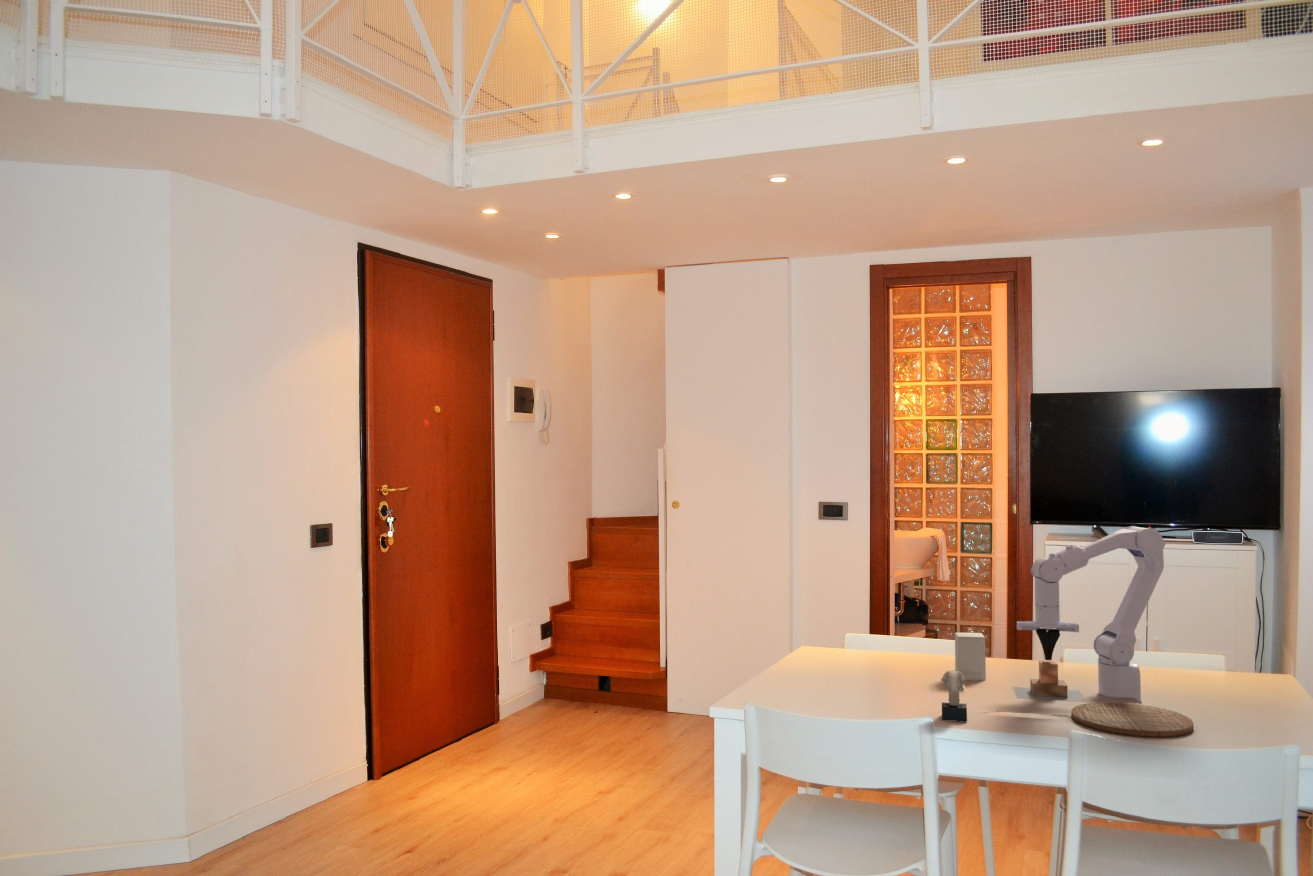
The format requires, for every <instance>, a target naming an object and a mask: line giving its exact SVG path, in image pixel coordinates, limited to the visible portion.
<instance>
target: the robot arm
mask: <svg viewBox="0 0 1313 876" xmlns="http://www.w3.org/2000/svg"><path fill="white" fill-rule="evenodd" d="M1165 547H1166V542H1165V541H1164V538H1163V537H1162V535H1161V533H1160V532H1159V531H1158V530H1157V529H1155V528H1152V527H1139V526H1136V525H1131V526H1126V528H1121V529H1118V530H1117V531H1114V532H1112V533H1110V534H1108V535H1106V536H1103V537H1101V538H1100V539H1097V540H1095V541H1093V542H1091V543H1089V544H1087V545H1085V546H1083V547H1081V546H1079V545H1076V544H1075V545H1071V544H1069V545H1068V544H1067V545H1066V546H1065V549H1062V550H1061V551H1058V552H1056V553H1053V552H1050V553H1049V554H1048V558H1047V557H1040V558H1037V559H1036V560H1035V561H1034V562H1033V563H1032V566H1031V567H1030V573H1031V575H1032V576H1033V577H1034V607H1035V608H1034V609H1035V616H1034V617H1035V621H1034V620H1030V621H1016V631H1017V630H1018V631H1022V630H1023V631H1035V633H1036V634H1037V636H1038V639H1039V641H1040V644H1041V648H1042V650H1043V654H1044V661H1053V659H1052V658H1053V653H1054V650H1055V647H1056V645H1057V642H1058V640H1059V638H1060V636H1061V633H1060V632H1070V633H1072V632H1073V633H1080V625H1079V623H1077V622H1076V623H1073V622H1072V623H1071V622H1062V621H1060V618H1061V617H1060V616H1061V615H1060V614H1061V613H1060V580H1061V579H1062V578H1063V576H1066V575H1067V574H1070V573H1072V572H1075V571H1077V570H1080V569H1082V568H1084V567H1087V565H1088V564H1089V561H1090V560H1091V559H1093V558H1096V557H1099V556H1101V555H1104V554H1106V553H1109V552H1113V551H1115V550H1118V549H1124V550H1127V551H1128V552H1129V554H1130V555H1132V557H1133V558H1134V560H1135V563H1136V565H1137V569H1136V571H1135V572H1134V575H1133V578H1132V579H1131V581H1130V583H1129V586H1128V588H1127V589H1126V592H1125V594H1124V596H1123V598H1122V600H1121V603H1120V604H1119V607H1118V609H1117V611H1116V613H1115V615H1114V617H1113V619H1112V621H1111V622H1110V623H1108V624H1107V625H1106V626H1105V627H1103V630H1102V632H1100V633H1099V634H1098V635H1097V636H1096V637H1095V638H1094V640H1093V644H1092V645H1093V649H1094V652H1095V653H1096V654H1097V655H1098V657H1097V667H1098V668H1097V675H1098V678H1097V679H1098V681H1097V682H1098V694H1099V695H1101V696H1104V697H1108V698H1116V699H1117V698H1120V699H1121V698H1122V699H1123V698H1126V699H1127V698H1128V699H1135V700H1136V701H1137V702H1138V703H1142V692H1141V691H1142V690H1141V688H1142V686H1141V671H1140V667H1139V665H1138V664H1137V663H1131V661H1132V660H1133V658H1134V655H1135V645H1136V643H1137V637H1136V636H1137V635H1136V633H1135V630H1136V628H1137V626H1138V624H1139V621H1140V620H1141V617H1142V615H1143V613H1144V611H1145V609H1146V607H1147V605H1148V603H1149V601H1150V599H1151V596H1152V594H1153V593H1154V590H1155V588H1156V586H1157V583H1158V582H1159V579H1160V578H1161V575H1162V573H1163V571H1164V569H1165V563H1164V562H1165V560H1164V548H1165Z"/></svg>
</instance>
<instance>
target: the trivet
mask: <svg viewBox="0 0 1313 876" xmlns="http://www.w3.org/2000/svg"><path fill="white" fill-rule="evenodd" d="M1071 719H1072V720H1073V721H1074V722H1075V724H1078V725H1079V726H1082V727H1084V728H1087V729H1090V730H1093V731H1097V732H1101V733H1106V734H1111V735H1116V736H1123V737H1132V738H1141V739H1142V738H1143V739H1170V738H1171V739H1173V738H1180V737H1186V736H1187V735H1188V736H1189V735H1191V734H1192V733H1193V731H1194V721H1193V720H1192V719H1191V718H1190V717H1188V716H1187V715H1186V714H1182V713H1179V712H1177V711H1174V710H1170V709H1166V708H1161V707H1156V706H1151V705H1144V704H1138V703H1127V702H1126V703H1125V702H1113V701H1112V702H1109V701H1107V702H1106V701H1105V702H1103V701H1101V702H1089V703H1082V704H1079V705H1076V706H1074V707H1073V708H1071Z"/></svg>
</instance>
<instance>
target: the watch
mask: <svg viewBox="0 0 1313 876" xmlns="http://www.w3.org/2000/svg"><path fill="white" fill-rule="evenodd" d="M940 681H941V682H943V685H944V687H945V689H946V691H947V692H948V699H947V700H948V702H941V720H942V721H945V720H956V721H955V722H960V721H967V722H968V707H967V706H968V705H967V703H960V702H961V699H960V692H961V691H962V689H963V686H964V685H965V680H964V676H963V675H962V674H961V672H959V671H955V670H947V671H945V672H944V674H943V675H942V677H941V678H940Z"/></svg>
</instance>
